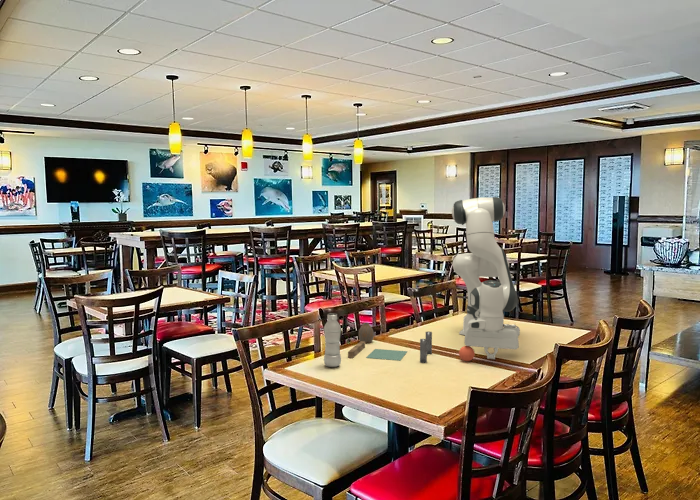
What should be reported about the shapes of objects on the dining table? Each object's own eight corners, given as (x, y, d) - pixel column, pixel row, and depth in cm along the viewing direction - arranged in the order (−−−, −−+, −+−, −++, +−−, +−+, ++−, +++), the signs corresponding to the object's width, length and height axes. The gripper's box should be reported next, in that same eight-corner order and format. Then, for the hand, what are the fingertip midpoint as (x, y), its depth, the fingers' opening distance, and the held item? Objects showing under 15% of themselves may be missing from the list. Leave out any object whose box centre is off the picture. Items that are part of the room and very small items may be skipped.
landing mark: (374, 349, 222) (374, 348, 222) (407, 351, 218) (407, 351, 218) (366, 357, 209) (366, 357, 209) (400, 360, 205) (400, 360, 205)
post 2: (425, 352, 217) (426, 331, 216) (432, 353, 216) (432, 331, 215) (424, 354, 214) (425, 332, 214) (431, 354, 213) (431, 333, 213)
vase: (372, 344, 231) (372, 324, 230) (357, 343, 232) (357, 324, 232) (374, 340, 238) (374, 321, 237) (360, 340, 239) (359, 321, 238)
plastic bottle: (332, 363, 202) (332, 312, 201) (344, 366, 197) (344, 314, 196) (320, 366, 198) (319, 314, 196) (332, 370, 193) (331, 316, 192)
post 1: (420, 361, 204) (420, 338, 204) (427, 361, 203) (427, 338, 203) (419, 362, 202) (419, 340, 201) (426, 363, 201) (426, 340, 200)
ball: (459, 358, 208) (459, 343, 207) (475, 359, 206) (475, 344, 206) (458, 362, 202) (458, 347, 202) (474, 363, 200) (474, 348, 200)
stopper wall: (360, 346, 226) (360, 341, 226) (365, 347, 226) (364, 341, 226) (348, 357, 209) (347, 351, 209) (352, 358, 209) (352, 352, 209)
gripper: (519, 323, 200) (519, 358, 201) (465, 320, 206) (465, 354, 207) (520, 326, 194) (519, 363, 195) (464, 323, 200) (463, 358, 201)
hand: (491, 358), depth 201 cm, fingers closed
